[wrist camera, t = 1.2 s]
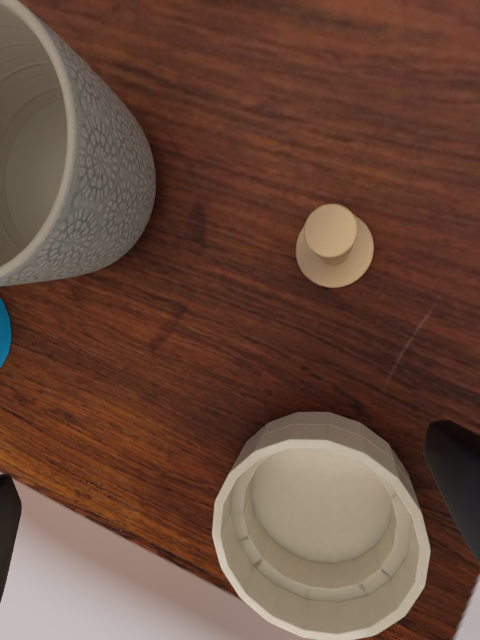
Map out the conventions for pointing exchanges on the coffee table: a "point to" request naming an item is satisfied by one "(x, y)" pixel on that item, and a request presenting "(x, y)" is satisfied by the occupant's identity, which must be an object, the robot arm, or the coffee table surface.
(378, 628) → the bowl
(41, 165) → the planter
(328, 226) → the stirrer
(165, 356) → the coffee table surface
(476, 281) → the coffee table surface
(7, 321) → the mug
